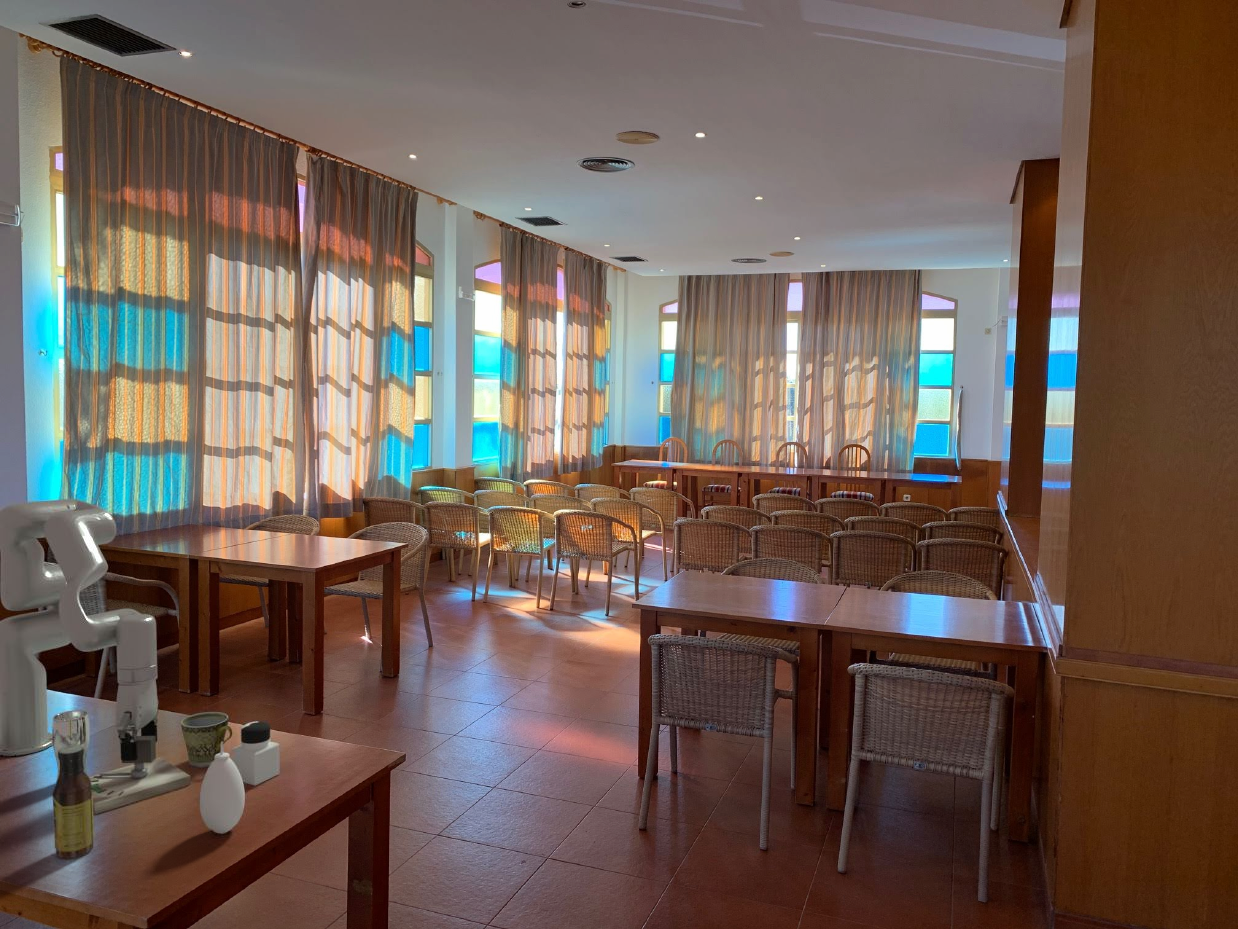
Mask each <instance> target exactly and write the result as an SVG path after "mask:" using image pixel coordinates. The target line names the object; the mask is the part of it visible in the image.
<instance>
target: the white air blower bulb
mask: <svg viewBox="0 0 1238 929" xmlns="http://www.w3.org/2000/svg"><path fill="white" fill-rule="evenodd" d="M214 759H215V760H214V761H213V762H212V763H211V765H210V766H208V768H207V770H206V772H205V774H204V777H203V780H202V784H201V788H200V794H199V810H200V815H201V818H202V821H203V822H204V824H205V826H206V827H207V828H208V829H209V830H211V831H212V832H214V833H217V834H221V835H222V834H226V833H227V832H229V831H231V830H232V829H233V827H235V826H236V825H238V823H239V821H240V819H241V817H242V815H243V812H244V809H245V798H246V794H245V786H244V785H245V784H244V783H243V781H242V778H241V775H240V773H239V770H238V768H237V767H236V765H235V763H234V762H233V761H232V758H231V757H230V754H229V753H228V752H224V744H223V743H222V741H221V751H220V753H218V754H216V755H215V757H214Z"/></svg>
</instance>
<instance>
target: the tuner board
mask: <svg viewBox="0 0 1238 929" xmlns="http://www.w3.org/2000/svg"><path fill="white" fill-rule="evenodd" d="M144 767H147V768H148V774H147V776H145V777H142V778H131V776H100V773H98V774H95V775H92V776H89V778H90V780H91V785H92V786H91V788H92V795H93V814H94V815H97V814H102V813H104V812H107V811H111V810H114V809H116V808H120V807H123V806H126V804H127V805H129V804H133V803H136V801H137V802H139V801H142V800H146V799H149V798H152V797H156V796H158V795H162V794H165V793H170V792H171V791H175V790H178V789H181V788H185V787H188V786H190V785H191V775H190V774H188V773H186V772H185V771H184V770H181V769H180V768H178V767H176V766H175V765H173V764H172V763H170V762H168V761H167V760H166V759H164V758H162V757H161V756H159V757H156V759H155V760H154V761H153V762H151V763H144ZM132 769H134V764H131V765H130V764H129V765H126V766H124V767H120V768H116V769H114V770H109V771H106V772H104V773H119V772H131V770H132ZM132 802H133V803H132Z"/></svg>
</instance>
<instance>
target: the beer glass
mask: <svg viewBox="0 0 1238 929" xmlns="http://www.w3.org/2000/svg"><path fill="white" fill-rule="evenodd" d="M90 728H91V727H90V718H89V712H88V711H87V710H83V709H82V710H81V709H75V710H74V709H73V710H68V711H63V712H60V713H57V714H54V716H53V717H52V731H51V734H52V742H53V745H52V747H53V753H54V757H55V761H56V765H57V776H56V782H57V780H58V777H59V774H60V773H59V771H60V761H59V758H58V751H59V750H60V749H61V748H63V747H66V746H69V745H82V746H83V747H84V755H83V766H84V770H83V771H84V772H85V773H86V774H87V775H88V776H89V774H88V771H87V770H88V769H87V757H88V751H89V747H90V739H91V736H90V734H91V732H90V731H91V730H90ZM56 782H55V783H56Z"/></svg>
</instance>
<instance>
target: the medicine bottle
mask: <svg viewBox="0 0 1238 929" xmlns="http://www.w3.org/2000/svg"><path fill="white" fill-rule="evenodd" d="M231 760H232V761H233V762H234V763H235V765H236V767H237V768H238V770H239V773H240V775H241V778H242V781H243V782H244V783H243V784H247V785H252V786H255V787H257V785H260V784H262V783H263V782H266V781H268V780H270V779H272V778H274V777H276V776H278V775H280V744H279V743H278V742H273V741H271V725H270V724H269V723H268V722H265V721H261V720H260V721H251V722H247V723H246V724H244V725H242V727H241V728H240V744H239V745H238V746H235V747H232V748H231Z"/></svg>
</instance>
